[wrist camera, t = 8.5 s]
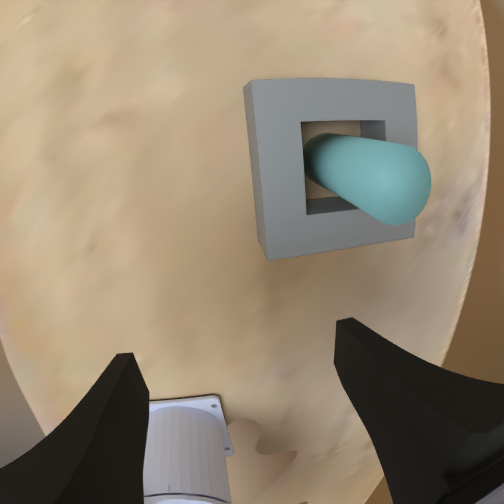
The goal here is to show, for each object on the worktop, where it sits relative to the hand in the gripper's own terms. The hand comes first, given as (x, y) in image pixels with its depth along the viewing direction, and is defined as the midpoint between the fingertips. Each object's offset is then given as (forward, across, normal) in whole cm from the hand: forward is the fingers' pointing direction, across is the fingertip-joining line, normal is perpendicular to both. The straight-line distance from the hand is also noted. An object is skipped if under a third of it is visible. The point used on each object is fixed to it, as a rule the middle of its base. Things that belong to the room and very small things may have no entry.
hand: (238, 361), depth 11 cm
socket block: (+10, -7, -5) cm, 13 cm away
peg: (+10, -7, -5) cm, 13 cm away
